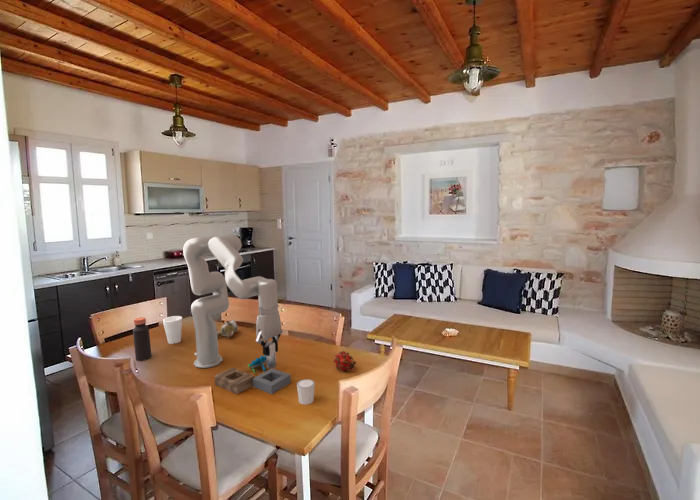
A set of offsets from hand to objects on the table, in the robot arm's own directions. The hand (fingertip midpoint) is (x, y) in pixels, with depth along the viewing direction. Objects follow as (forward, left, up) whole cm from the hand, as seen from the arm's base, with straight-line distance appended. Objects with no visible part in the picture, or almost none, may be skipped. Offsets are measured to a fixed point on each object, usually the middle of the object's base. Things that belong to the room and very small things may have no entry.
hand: (270, 352), depth 149 cm
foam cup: (-80, +4, -14) cm, 81 cm away
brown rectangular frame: (-13, -9, -14) cm, 21 cm away
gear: (-15, +7, -14) cm, 22 cm away
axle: (0, 0, -6) cm, 6 cm away
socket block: (0, 0, -14) cm, 14 cm away
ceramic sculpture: (-62, +26, -14) cm, 69 cm away
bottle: (-73, -16, -14) cm, 76 cm away
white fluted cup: (+20, -2, -14) cm, 25 cm away
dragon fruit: (+18, +27, -14) cm, 36 cm away
